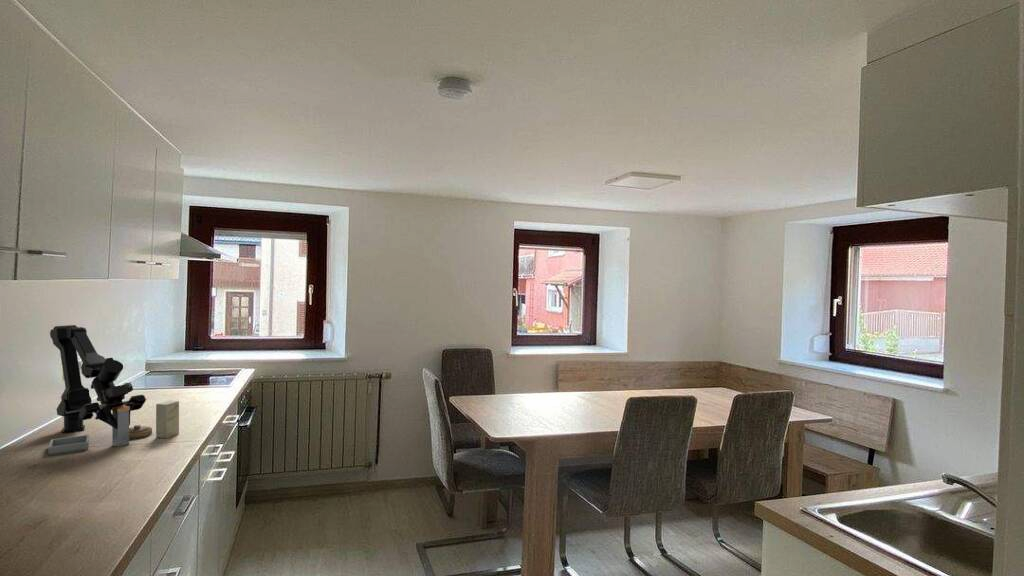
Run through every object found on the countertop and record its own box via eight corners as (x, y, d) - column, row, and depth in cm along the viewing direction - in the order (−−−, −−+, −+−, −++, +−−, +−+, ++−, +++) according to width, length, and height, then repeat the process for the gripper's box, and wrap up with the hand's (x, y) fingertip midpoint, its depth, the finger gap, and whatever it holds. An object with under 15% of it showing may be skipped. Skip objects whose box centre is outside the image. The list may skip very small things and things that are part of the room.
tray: (51, 446, 187) (51, 439, 187) (89, 441, 193) (89, 434, 193) (48, 455, 179) (48, 447, 179) (88, 449, 185) (88, 442, 185)
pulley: (121, 434, 202) (121, 424, 202) (151, 430, 208) (151, 421, 208) (122, 440, 195) (122, 430, 195) (152, 436, 200) (152, 426, 200)
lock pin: (111, 445, 190) (111, 407, 189) (123, 442, 193) (123, 405, 193) (117, 447, 188) (117, 409, 187) (129, 444, 191) (129, 406, 191)
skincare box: (165, 438, 198) (165, 404, 198) (155, 437, 199) (155, 404, 199) (179, 433, 204) (179, 400, 204) (169, 432, 205) (169, 400, 205)
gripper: (83, 380, 183) (100, 418, 178) (143, 372, 200) (160, 406, 195) (71, 401, 187) (88, 438, 182) (131, 391, 204) (148, 425, 199)
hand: (122, 426), depth 189 cm, fingers closed on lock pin, 3 cm apart
